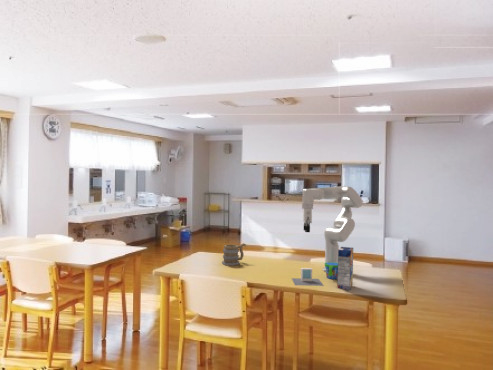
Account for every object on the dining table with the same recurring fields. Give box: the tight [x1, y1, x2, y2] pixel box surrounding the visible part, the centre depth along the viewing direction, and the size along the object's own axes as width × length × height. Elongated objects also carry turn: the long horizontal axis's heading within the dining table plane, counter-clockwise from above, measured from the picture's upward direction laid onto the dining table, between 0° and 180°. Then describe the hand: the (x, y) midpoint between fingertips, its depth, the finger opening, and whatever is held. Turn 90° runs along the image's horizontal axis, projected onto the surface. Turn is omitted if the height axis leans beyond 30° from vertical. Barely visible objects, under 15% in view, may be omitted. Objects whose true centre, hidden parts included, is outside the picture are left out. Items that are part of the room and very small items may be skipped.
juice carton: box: [336, 246, 354, 291], centre depth 247 cm, size 12×8×24 cm, turn 158°
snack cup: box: [324, 262, 338, 280], centre depth 268 cm, size 16×10×10 cm
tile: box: [300, 267, 313, 281], centre depth 258 cm, size 7×2×8 cm, turn 91°
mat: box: [291, 277, 325, 287], centre depth 256 cm, size 18×17×1 cm
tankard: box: [221, 243, 247, 266], centre depth 310 cm, size 20×13×15 cm, turn 120°
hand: (306, 231), depth 277 cm, fingers open, 9 cm apart
